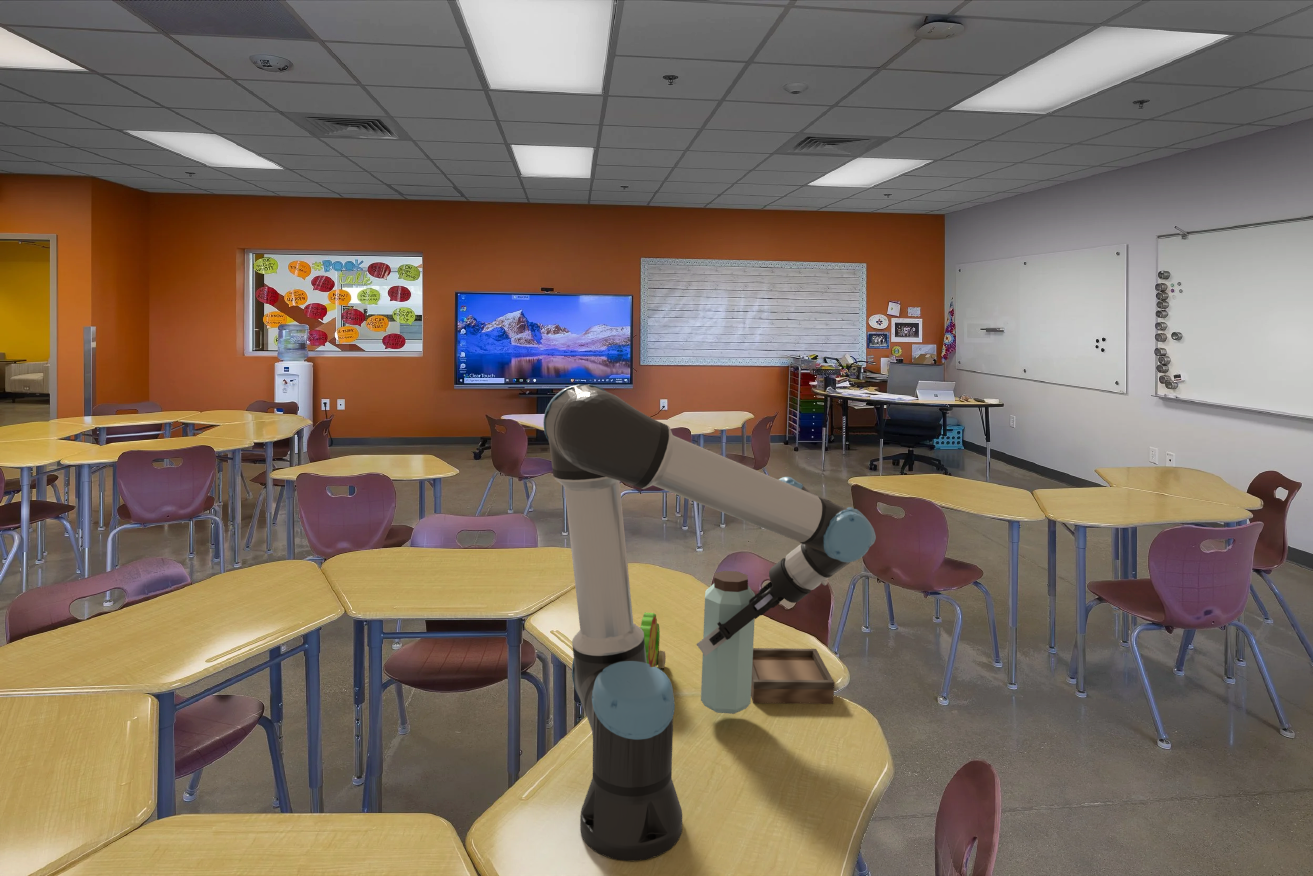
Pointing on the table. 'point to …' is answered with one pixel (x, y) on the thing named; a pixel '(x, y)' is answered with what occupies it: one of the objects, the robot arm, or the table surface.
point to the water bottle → (728, 646)
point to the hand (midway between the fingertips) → (713, 639)
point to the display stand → (790, 677)
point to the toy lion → (652, 640)
